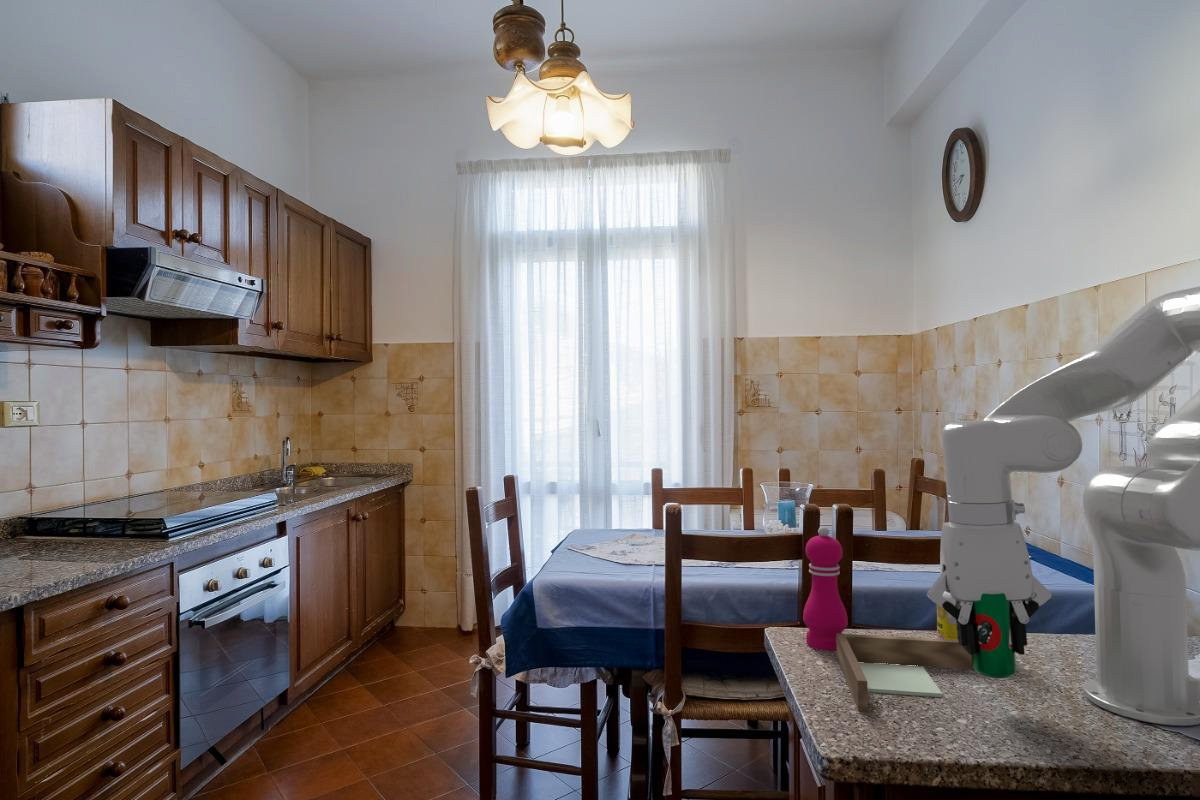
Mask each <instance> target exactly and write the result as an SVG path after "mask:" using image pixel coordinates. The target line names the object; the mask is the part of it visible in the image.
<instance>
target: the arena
mask: <svg viewBox="0 0 1200 800" xmlns="http://www.w3.org/2000/svg"><path fill="white" fill-rule="evenodd" d="M836 642H837V651H836V660H837V663H838V662H839V663H838V665H839V667H841V668H840V670H841V673H842V675H843V674H844V675H843V677H844V679H846V680H845V683H846V684H848V685H847V687H848V690H849V689H850V690H849V692H850V694H852V695H851V697H852V699H853V702H854V704H855V706H856V710H857V711H858V712H863V713H865V712H866V713H868V712H869V702H868V700H869V698H868V696H869V695H868V693H869V692H868V690H867V680H866V677H865V675H864V673H863V671H862V669H861V667H860V665H859V663H858V662H864V663H886V664H887V663H888V664H900V665H916V666H917V665H918V666H931V667H930V668H938V667H940V668H941V669H954V668H955V669H956V670H958V669H959V670H970V669H972V670H974V668H973V666H972V656H971V655H970V654H969V653H968V652H967V651H966V650H965V649H964V648H963V646H961V645H960V644H959V642H958V640H950V639H937V638H927V637H914V636H913V637H910V636H906V637H905V636H895V635H893V636H889V635H873V634H857V633H856V634H855V633H853V634H851V633H842V634H839V633H836ZM955 669H954V670H955Z"/></svg>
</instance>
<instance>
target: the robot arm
mask: <svg viewBox="0 0 1200 800" xmlns="http://www.w3.org/2000/svg"><path fill="white" fill-rule="evenodd" d="M1199 353H1200V286H1195V287H1191V288H1187V289H1181V290H1176V291H1172V292H1168V293H1165V294H1162V295H1160V296H1158V297H1155V298H1154V299H1151V300H1150V301H1149V302H1148V303H1146V304H1144V305H1143V306H1142V307H1141V308H1140V309H1138V310H1137V311H1136V312H1135V313H1133V314H1132V315H1131V316H1129V317H1128V319H1126V320H1125V321H1124V322H1122V323H1121V324H1120V325H1119V326H1117V328H1115V329H1114V330H1112V332H1110V333H1109V334H1107V336H1105V337H1104V338H1103V339H1102V340H1101V341H1099V342H1098V343H1097V344H1095V345H1094V346H1093V347H1092V348H1091V349H1089V350H1087V352H1085V353H1084V354H1083V355H1081V356H1079V357H1077V358H1076V359H1073V360H1072V361H1070V362H1068V363H1066V364H1064V365H1063V366H1061V367H1059V368H1057V369H1055V370H1053V371H1051V372H1049V373H1048V374H1046V375H1044V376H1042V377H1041V378H1039V379H1036V380H1035V381H1033V382H1031V383H1030V384H1028V385H1026V386H1025V387H1023V388H1021V389H1020V390H1018V391H1016V392H1015V393H1014V394H1012V395H1011V396H1010V397H1008V398H1007V399H1006V400H1004V401H1003V402H1002V403H1001V404H999V405H998V406H997V407H996V408H995V409H994V410H992V411H991V412H990V413H988V415H987V416H985V417H984V418H983V420H965V421H956V422H950V423H948V424H946V425H945V426H944V427H943V428H942V429H943V430H942V432H941V443H942V452H943V453H942V454H943V455H942V456H943V464H944V474H945V477H944V478H945V487H946V488H945V489H946V499H947V510H948V521H947V522H943V523H942V526H941V534H940V535H941V536H940V548H939V549H940V551H939V553H940V554H939V559H940V561H939V565H940V566H939V569H940V571H939V573H940V576H939V577H938V578H937V579H936V580H935V582H934V583H933V584H932V586H931V587H929V589H928V590H927V592H926V597H927V598H928V599H929V600H930V601H932V602H933V603H935V604H936V606H937V605H939V606H940V607H942V608H943V609H945V610H946V611H947V612H948V613H949V614H950V615H952V616H953V617H954V618H955V619H956V624H957V635H958V642H959V644H960V645H961V646H963V648H964V649H965V650H966V651H967V652H968V653H969V654H970V655H974V654H976V649H975V638H974V627H973V625H972V624H971V623H970V619H969V616H970V612H971V608H972V604H973V602H977V601H980V600H981V596H982V594H984V593H986V592H988V591H993V590H994V591H999V592H1002V593H1004V594H1005V596H1006V599H1007V600H1008V601H1010V602H1011V611H1012V622H1013V634H1014V645H1015V654H1018V655H1021V656H1022V655H1025V654H1026V653H1025V646H1028V637H1027V626H1026V625H1027V624H1028V623H1029V622H1030V618H1031V617H1032V616H1033V615H1034V614H1035V613H1036V612H1037V611H1038V610H1039V609H1040V607H1041V606H1043V605H1044V604H1045V603H1047V601H1049V600H1050V599H1051V598H1052V596H1053V595H1052V593H1051V591H1050V590H1049V589H1048V588H1047V587H1046V586H1044V584H1042V582H1041V581H1039V579H1038V578H1036V576H1034V575H1033V571H1032V565H1031V564H1032V563H1031V558H1030V555H1029V551H1028V546H1027V543H1026V540H1025V536H1024V533H1023V529H1022V527H1021V524H1020V523H1019V522H1017V521H1016V520H1017V519H1016V517H1017V515H1020V514H1025V513H1026V506H1025V504H1024V503H1023V502H1021V503H1020V502H1015V500H1014V499H1013V494H1012V493H1013V492H1012V480H1011V474H1012V473H1015V472H1018V473H1023V472H1024V473H1036V474H1051V473H1056V472H1061V471H1064V470H1065V469H1067V468H1070V467H1071V466H1072V465H1073V464H1075V462H1076V461H1078V459H1079V457H1080V455H1081V454H1082V450H1083V439H1082V436H1081V434H1080V432H1079V431H1078V429H1077V428H1076V427H1075V426H1074V425H1073V424H1072V423H1070V422H1072V421H1076V420H1078V419H1081V418H1084V417H1087V416H1091V415H1095V414H1099V413H1104V412H1107V411H1111V410H1115V409H1118V408H1121V407H1123V406H1126V405H1128V404H1131V403H1134V402H1137V401H1138V400H1140V399H1141V398H1143V397H1144V396H1146V395H1147V394H1148V393H1150V391H1151V390H1152V389H1154V388H1155V387H1156V386H1157V385H1159V384H1160V383H1161V382H1162V381H1163V380H1164V379H1165V378H1166V377H1168V376H1169V375H1170V374H1171V373H1173V372H1174V371H1175V370H1176V369H1177V368H1179V367H1180V366H1182V365H1183V364H1184V363H1186V362H1187V361H1188V360H1189V359H1190V358H1191V357H1193V356H1195V355H1196V354H1199ZM1146 457H1147V460H1148V462H1149V464H1150V466H1151V467H1147V466H1135V465H1121V466H1113V467H1109V468H1105V469H1103V470H1101V471H1099V472H1096V473H1095V474H1094V475H1093V476H1092V477H1091V478H1090V479H1089V480H1088V482H1087V483H1086V486H1085V487H1084V490H1083V495H1082V507H1083V514H1084V517H1085V521H1086V524H1087V525H1086V526H1087V529H1088V533H1089V537H1090V543H1091V549H1092V560H1093V580H1094V581H1093V595H1094V622H1095V623H1094V625H1095V654H1096V656H1095V657H1096V658H1095V660H1096V661H1095V663H1096V678H1093V679H1092V678H1091V679H1089V680H1087V681H1085V682H1084V684H1083V685H1082V687H1083V694H1084V697H1085V698H1086V699H1088V701H1090V702H1091V703H1093V704H1094V705H1095V706H1098V707H1100V708H1103V709H1104V710H1106V711H1109V712H1112V713H1113V714H1114V713H1115V714H1116V715H1119V716H1123V717H1126V718H1130V719H1134V720H1136V721H1143V722H1146V723H1151V724H1156V725H1157V724H1158V725H1165V726H1173V727H1175V726H1177V727H1178V726H1180V727H1181V726H1182V727H1185V726H1186V727H1187V726H1195V725H1196V726H1197V725H1200V677H1193V676H1191V675H1190V673H1189V672H1190V671H1189V669H1190V668H1189V645H1188V644H1189V643H1188V640H1189V639H1188V638H1189V637H1188V614H1187V613H1188V608H1187V579H1186V573H1185V569H1184V566H1183V562H1182V560H1181V557H1180V555H1179V553H1178V551H1177V549H1176V548H1178V549H1181V550H1182V549H1183V550H1187V551H1195V552H1200V388H1199V389H1198V390H1197V391H1196V392H1195V393H1194V395H1193V396H1191V397H1190V398H1189V399H1188V400H1187V401H1186V402H1185V403H1184V404H1183V405H1182V406H1181V407H1180V408H1178V410H1176V412H1174V413H1173V414H1172V415H1171V416H1170V417H1169V418H1168V419H1167V420H1166V421H1165V422H1164V423H1162V425H1161V426H1160V427H1158V429H1157V430H1156V431H1155V432H1154V434H1153V435H1152V436H1151V437H1150V439H1149V441H1148V444H1147V445H1146ZM945 591H946V592H948V593H950V594H951V596H952V598H954V599H955V602H954V605H953V604H952V603H951V602H949V601H948V600H947V599H945V598H944V597H943V593H944V592H945Z"/></svg>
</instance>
